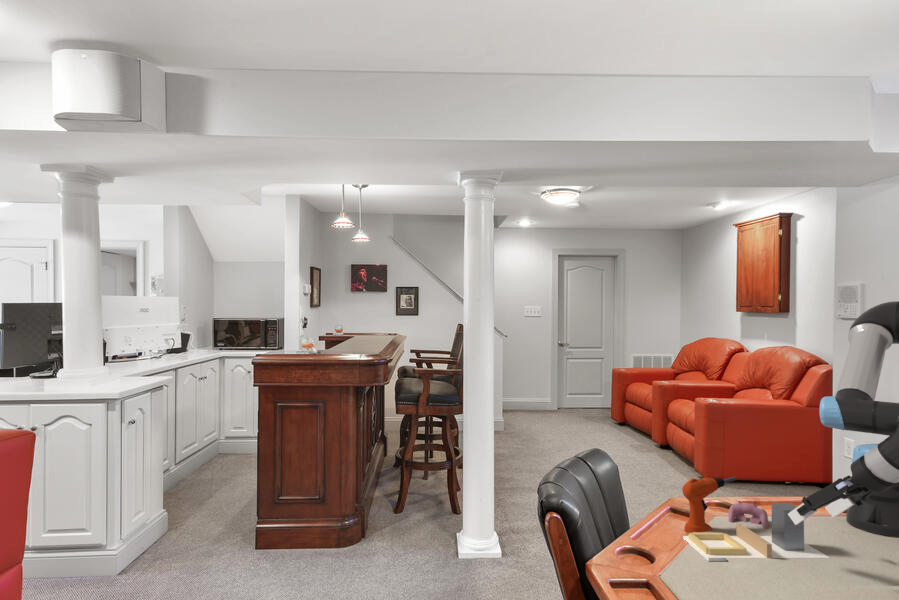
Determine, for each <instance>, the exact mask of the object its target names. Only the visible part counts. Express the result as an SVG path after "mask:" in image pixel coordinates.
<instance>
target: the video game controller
mask: <svg viewBox="0 0 899 600" xmlns="http://www.w3.org/2000/svg"><path fill="white" fill-rule="evenodd" d="M746 515H750V516H751V517H750V519H749V522H750V523H751V524H756V525H759V524H760V523H761V527H762V529H764V530H765V529H766V530H767V529H768V528H769V518H768V512H767V511H766V510H765V509H764V508H763V507H761V506H758V505H756V504H754V503H748V502H734V503H732V504H731V506H730V507H729V508H728V522H729V523H734V522H735V520H736V519H737V520H738V522H747V518H746Z"/></svg>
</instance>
